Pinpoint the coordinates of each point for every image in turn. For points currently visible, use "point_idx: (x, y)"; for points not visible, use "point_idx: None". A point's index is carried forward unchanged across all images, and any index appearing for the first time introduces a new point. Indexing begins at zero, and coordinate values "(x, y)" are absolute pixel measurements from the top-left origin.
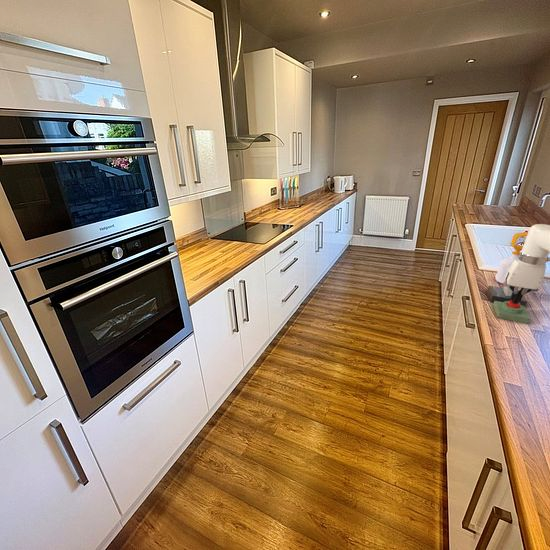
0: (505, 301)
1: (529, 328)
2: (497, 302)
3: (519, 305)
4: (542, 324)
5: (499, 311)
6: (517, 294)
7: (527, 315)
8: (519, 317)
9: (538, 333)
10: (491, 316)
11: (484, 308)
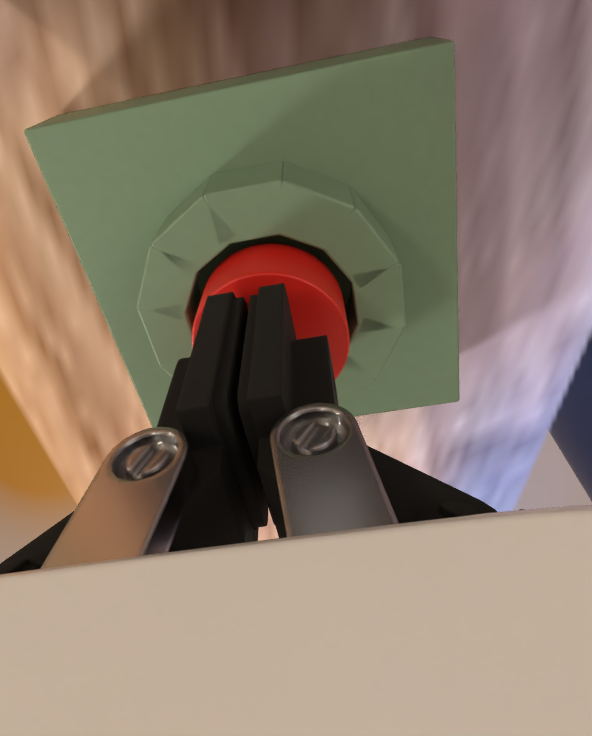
0: (158, 248)
1: (429, 439)
2: (76, 175)
3: (338, 369)
4: (576, 305)
5: (156, 416)
6: (247, 541)
7: (436, 347)
8: (350, 411)
9: (482, 474)
10: (123, 410)
11: (11, 280)
